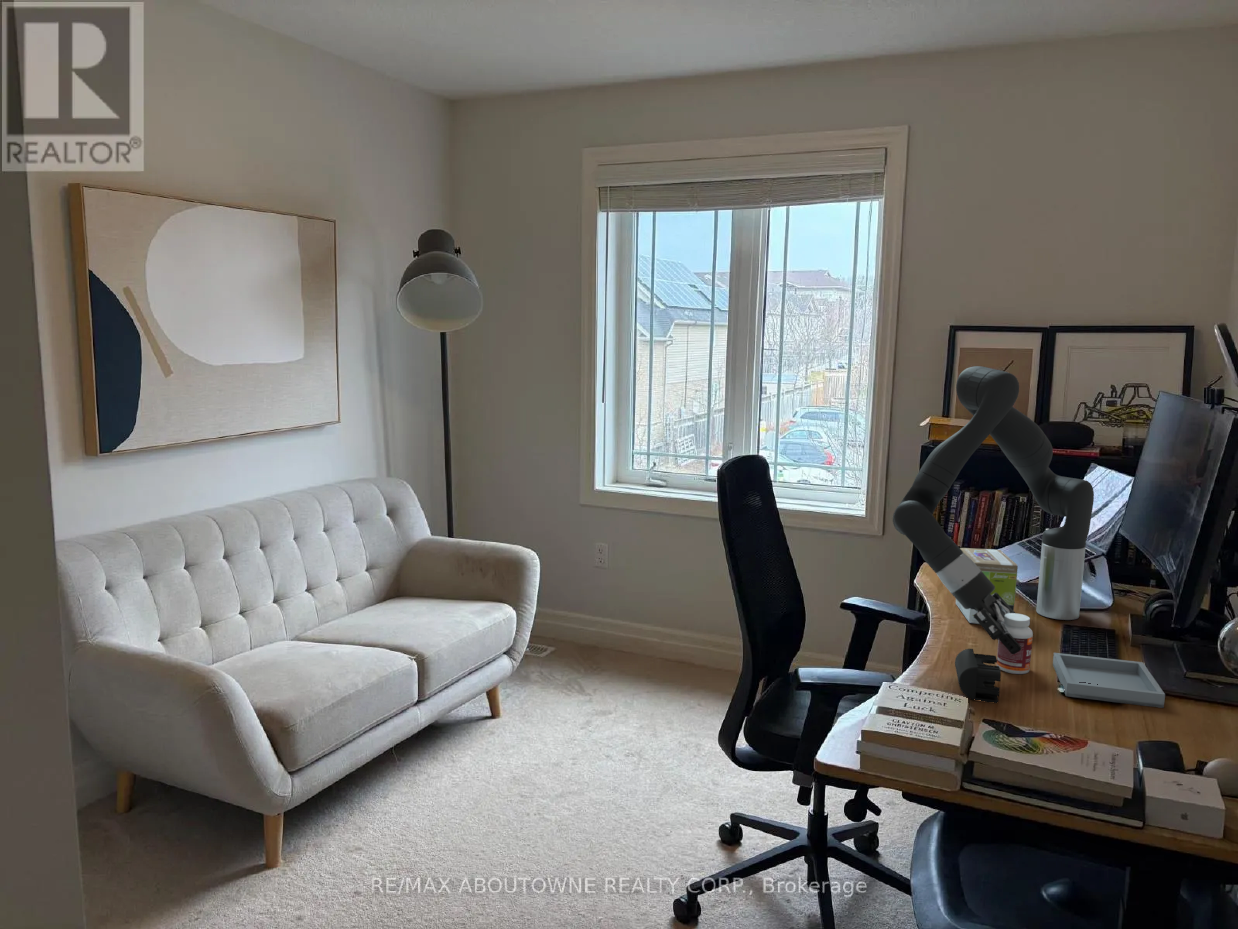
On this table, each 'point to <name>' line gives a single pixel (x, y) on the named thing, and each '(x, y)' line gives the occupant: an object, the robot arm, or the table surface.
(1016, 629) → the pill bottle
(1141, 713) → the table surface
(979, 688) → the end cap
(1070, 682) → the tray
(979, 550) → the tea box
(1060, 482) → the robot arm
